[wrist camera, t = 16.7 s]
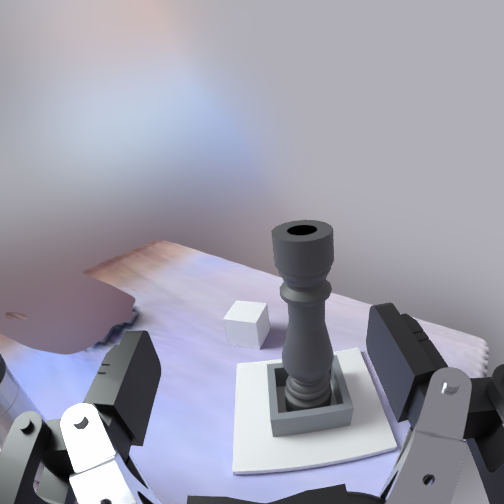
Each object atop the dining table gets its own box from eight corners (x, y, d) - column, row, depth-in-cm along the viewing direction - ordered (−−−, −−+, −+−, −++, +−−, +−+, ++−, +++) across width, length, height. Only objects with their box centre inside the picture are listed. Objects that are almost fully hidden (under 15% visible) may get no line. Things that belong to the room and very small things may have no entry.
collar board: (233, 474, 29) (226, 457, 28) (237, 367, 48) (233, 345, 46) (395, 449, 29) (404, 429, 27) (357, 351, 47) (360, 328, 45)
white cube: (260, 350, 52) (255, 323, 49) (228, 345, 54) (222, 319, 51) (270, 329, 57) (267, 303, 54) (240, 325, 59) (236, 300, 56)
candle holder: (336, 415, 35) (346, 235, 25) (291, 426, 35) (276, 248, 25) (322, 383, 41) (322, 215, 31) (281, 393, 40) (263, 225, 30)
